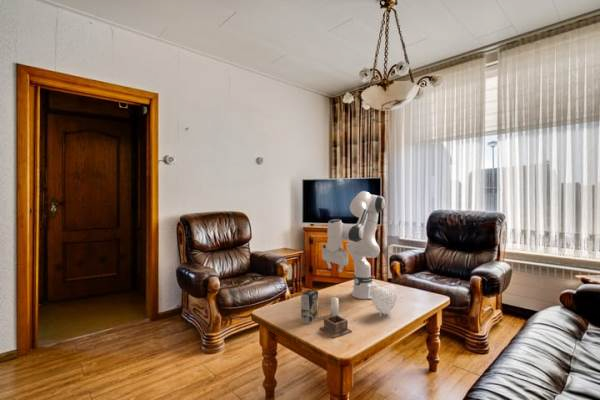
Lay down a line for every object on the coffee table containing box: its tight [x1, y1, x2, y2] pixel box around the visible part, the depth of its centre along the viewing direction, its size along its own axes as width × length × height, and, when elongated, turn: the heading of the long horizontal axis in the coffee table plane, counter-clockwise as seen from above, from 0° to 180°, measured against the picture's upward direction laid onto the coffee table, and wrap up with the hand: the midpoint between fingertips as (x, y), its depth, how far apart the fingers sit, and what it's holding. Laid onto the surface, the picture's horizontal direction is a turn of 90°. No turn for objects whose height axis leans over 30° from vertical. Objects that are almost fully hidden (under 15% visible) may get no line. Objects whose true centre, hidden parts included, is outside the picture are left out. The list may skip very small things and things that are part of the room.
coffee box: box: [300, 289, 319, 325], centre depth 169 cm, size 9×6×16 cm
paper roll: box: [330, 296, 339, 316], centre depth 175 cm, size 4×4×10 cm
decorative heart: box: [371, 284, 398, 316], centre depth 177 cm, size 18×11×17 cm, turn 122°
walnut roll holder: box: [319, 314, 353, 339], centre depth 156 cm, size 12×12×6 cm
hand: (334, 270), depth 174 cm, fingers open, 8 cm apart
